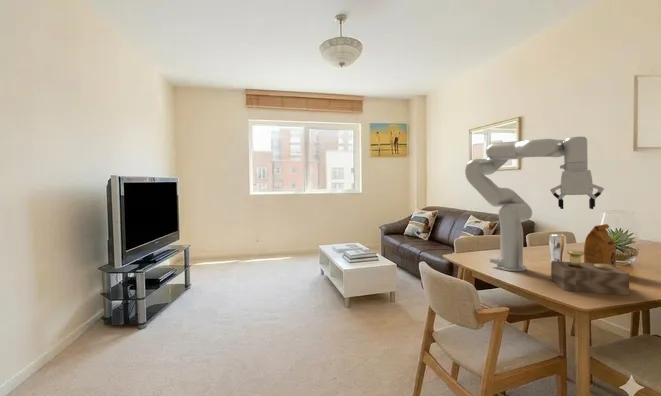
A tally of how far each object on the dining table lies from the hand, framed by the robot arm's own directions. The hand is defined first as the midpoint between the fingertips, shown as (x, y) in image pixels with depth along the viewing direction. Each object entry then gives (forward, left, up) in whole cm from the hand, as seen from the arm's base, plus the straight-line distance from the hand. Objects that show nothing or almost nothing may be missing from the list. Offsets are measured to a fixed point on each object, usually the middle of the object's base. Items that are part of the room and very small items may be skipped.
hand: (576, 208), depth 127 cm
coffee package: (+16, +19, -31) cm, 39 cm away
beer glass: (+3, +30, -31) cm, 43 cm away
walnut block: (+2, -5, -31) cm, 31 cm away
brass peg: (-2, -5, -24) cm, 25 cm away
